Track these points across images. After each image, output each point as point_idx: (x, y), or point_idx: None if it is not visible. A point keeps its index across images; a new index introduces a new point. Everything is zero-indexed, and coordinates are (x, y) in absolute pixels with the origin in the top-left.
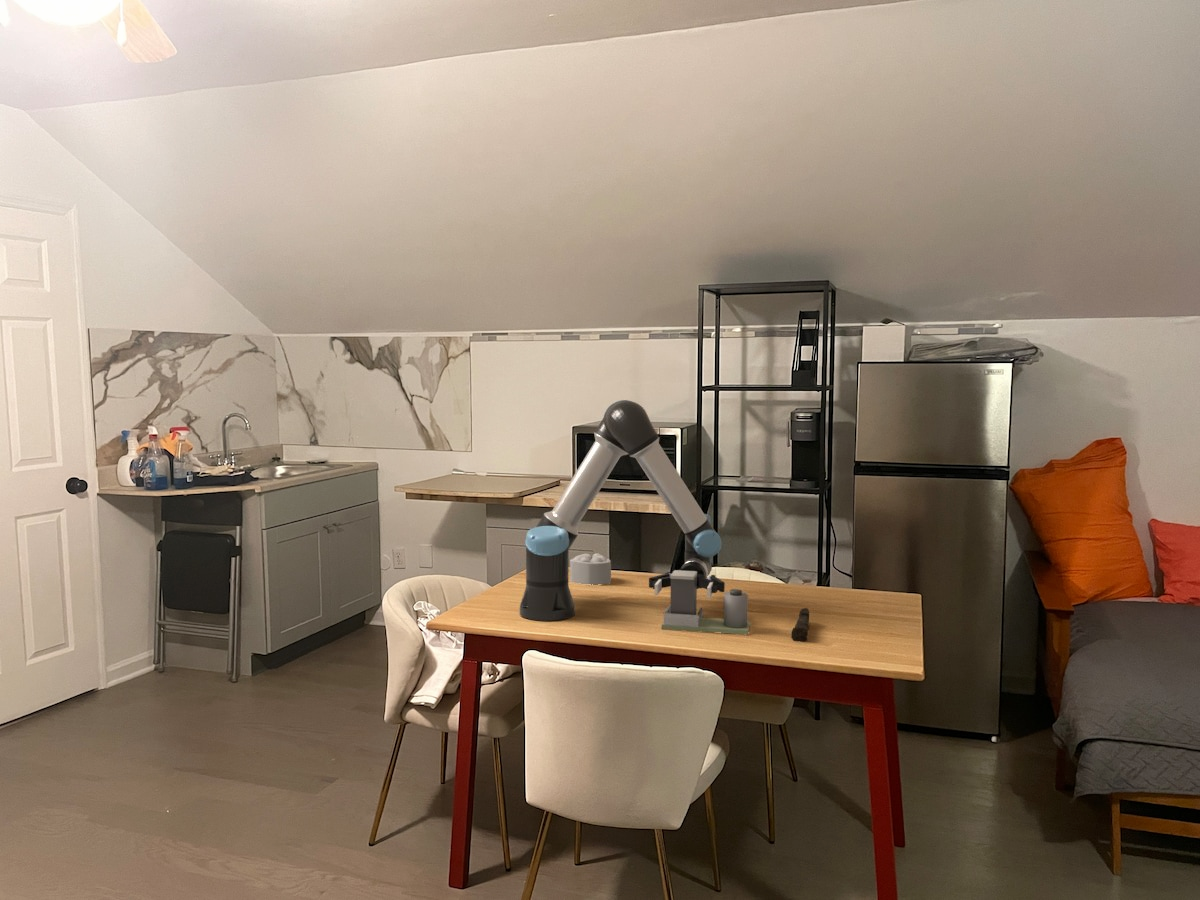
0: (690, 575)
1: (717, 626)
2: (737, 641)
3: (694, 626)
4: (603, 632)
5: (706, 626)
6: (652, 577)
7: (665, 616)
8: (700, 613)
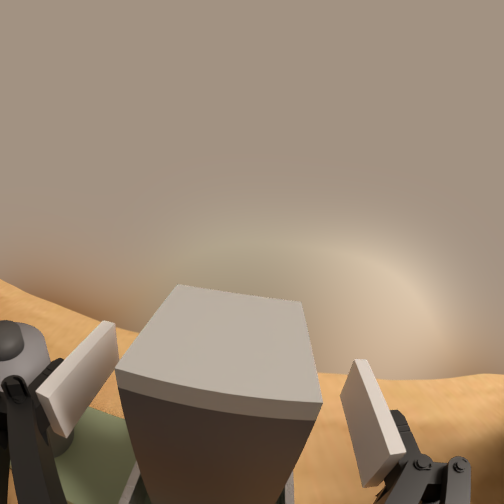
0: (190, 298)
1: (99, 428)
2: None
3: None
4: (408, 402)
5: None
6: (465, 485)
7: None
8: None
